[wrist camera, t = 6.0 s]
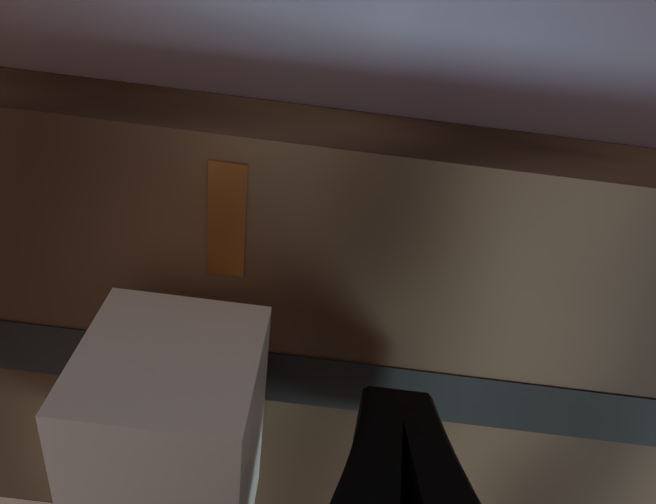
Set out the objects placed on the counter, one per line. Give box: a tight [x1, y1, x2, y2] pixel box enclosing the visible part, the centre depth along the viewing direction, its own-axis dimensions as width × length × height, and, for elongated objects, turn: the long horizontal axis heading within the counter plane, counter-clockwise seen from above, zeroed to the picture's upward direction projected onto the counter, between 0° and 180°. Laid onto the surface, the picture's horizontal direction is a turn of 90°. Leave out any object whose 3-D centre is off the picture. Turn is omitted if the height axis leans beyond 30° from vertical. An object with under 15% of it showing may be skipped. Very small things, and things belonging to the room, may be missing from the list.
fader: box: [35, 288, 272, 504], centre depth 12 cm, size 3×5×4 cm, turn 174°
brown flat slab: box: [0, 67, 656, 504], centre depth 15 cm, size 20×11×2 cm, turn 84°
